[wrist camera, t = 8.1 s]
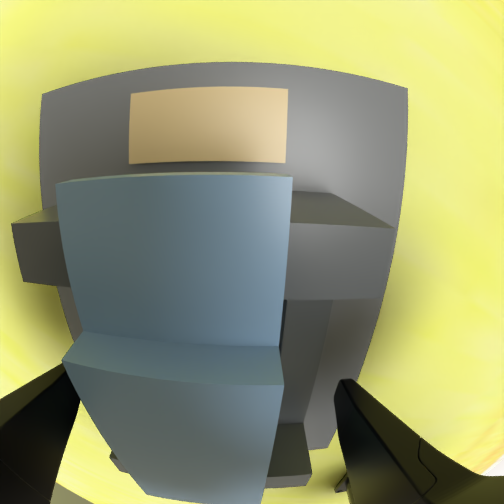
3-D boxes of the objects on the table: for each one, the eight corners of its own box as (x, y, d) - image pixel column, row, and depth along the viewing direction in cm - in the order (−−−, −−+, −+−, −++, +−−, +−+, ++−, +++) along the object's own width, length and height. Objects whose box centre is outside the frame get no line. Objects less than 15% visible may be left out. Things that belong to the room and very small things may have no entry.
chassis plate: (325, 439, 15) (339, 501, 10) (121, 428, 15) (101, 486, 10) (397, 91, 8) (489, 67, 3) (53, 96, 8) (-37, 86, 3)
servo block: (253, 425, 13) (256, 521, 7) (181, 420, 13) (164, 513, 7) (268, 164, 9) (306, 185, 3) (146, 164, 9) (18, 194, 3)
